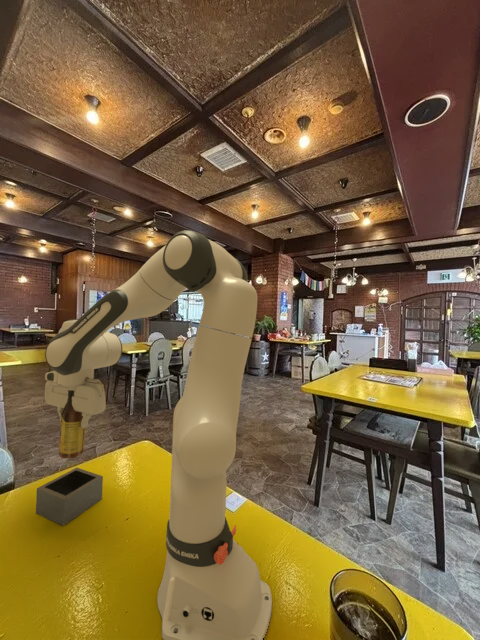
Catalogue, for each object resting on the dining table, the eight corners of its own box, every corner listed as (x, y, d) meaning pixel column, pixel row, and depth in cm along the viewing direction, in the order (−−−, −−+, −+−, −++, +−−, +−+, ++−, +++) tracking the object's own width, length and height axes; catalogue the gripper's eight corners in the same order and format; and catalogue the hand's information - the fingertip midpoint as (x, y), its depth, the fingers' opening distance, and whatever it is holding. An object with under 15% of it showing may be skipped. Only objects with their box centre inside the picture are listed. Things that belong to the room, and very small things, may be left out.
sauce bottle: (67, 448, 83) (73, 381, 83) (88, 450, 83) (94, 383, 83) (51, 459, 76) (58, 385, 77) (74, 461, 76) (80, 387, 76)
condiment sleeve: (101, 499, 83) (102, 476, 83) (63, 526, 72) (64, 499, 72) (76, 489, 87) (76, 467, 87) (35, 513, 76) (36, 488, 76)
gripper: (112, 378, 79) (110, 427, 79) (62, 370, 86) (60, 415, 86) (93, 382, 73) (90, 435, 73) (41, 373, 80) (38, 421, 80)
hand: (73, 424), depth 80 cm, fingers closed on sauce bottle, 6 cm apart
